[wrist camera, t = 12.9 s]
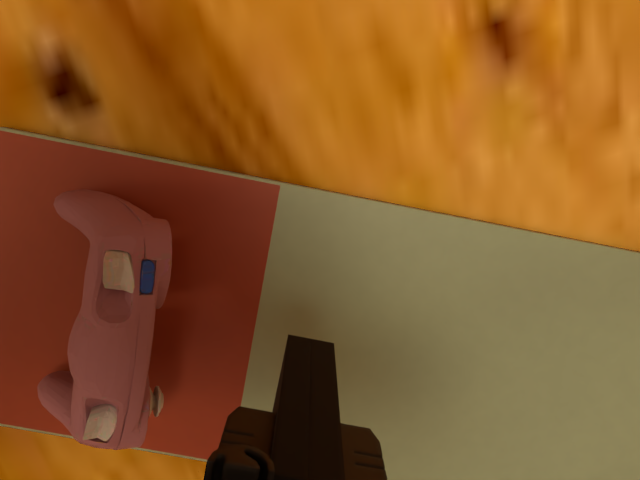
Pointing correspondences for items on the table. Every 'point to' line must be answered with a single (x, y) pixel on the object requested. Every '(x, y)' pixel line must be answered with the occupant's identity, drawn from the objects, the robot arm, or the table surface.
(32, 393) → the placemat
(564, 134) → the table surface
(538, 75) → the table surface
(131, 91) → the table surface
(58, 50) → the table surface
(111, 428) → the video game controller
